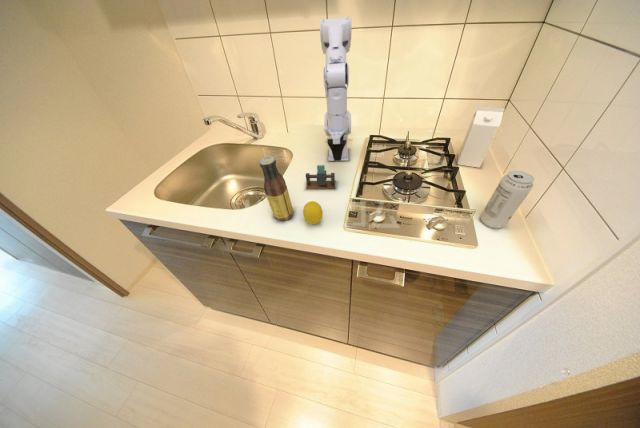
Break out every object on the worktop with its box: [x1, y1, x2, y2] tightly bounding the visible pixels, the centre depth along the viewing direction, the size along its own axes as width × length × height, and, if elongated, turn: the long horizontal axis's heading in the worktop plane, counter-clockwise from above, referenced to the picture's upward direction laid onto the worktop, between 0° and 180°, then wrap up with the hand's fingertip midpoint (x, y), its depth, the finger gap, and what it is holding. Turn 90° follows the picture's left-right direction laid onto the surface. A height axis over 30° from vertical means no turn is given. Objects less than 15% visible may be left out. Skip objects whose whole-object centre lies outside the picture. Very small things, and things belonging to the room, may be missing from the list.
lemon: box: [302, 200, 324, 225], centre depth 64 cm, size 6×6×8 cm
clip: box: [316, 164, 328, 185], centre depth 76 cm, size 4×3×7 cm
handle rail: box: [305, 172, 336, 190], centre depth 78 cm, size 4×10×5 cm, turn 85°
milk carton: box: [457, 106, 506, 168], centre depth 77 cm, size 7×7×19 cm
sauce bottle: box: [258, 155, 294, 222], centre depth 64 cm, size 7×6×20 cm
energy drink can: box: [480, 170, 535, 230], centre depth 57 cm, size 6×6×15 cm
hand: (338, 154), depth 75 cm, fingers open, 7 cm apart
